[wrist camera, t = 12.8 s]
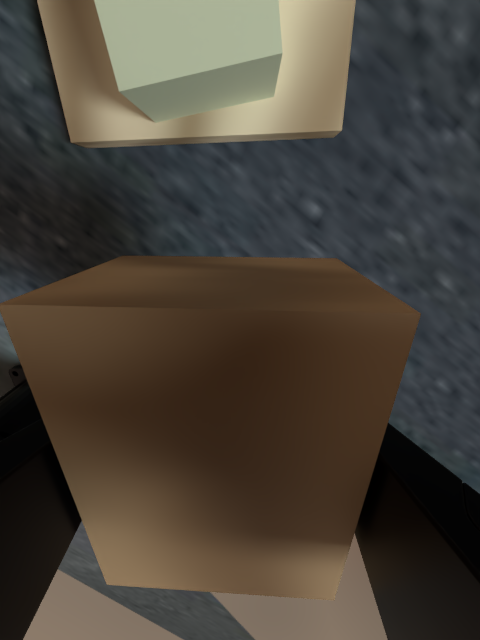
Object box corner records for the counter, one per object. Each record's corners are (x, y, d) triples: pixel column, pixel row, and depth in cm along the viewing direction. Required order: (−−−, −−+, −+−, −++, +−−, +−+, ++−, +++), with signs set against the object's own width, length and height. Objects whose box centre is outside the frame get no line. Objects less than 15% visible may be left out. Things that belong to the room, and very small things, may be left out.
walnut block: (157, 454, 11) (107, 584, 7) (122, 255, 7) (-2, 304, 4) (306, 461, 10) (333, 600, 7) (336, 258, 7) (421, 313, 4)
